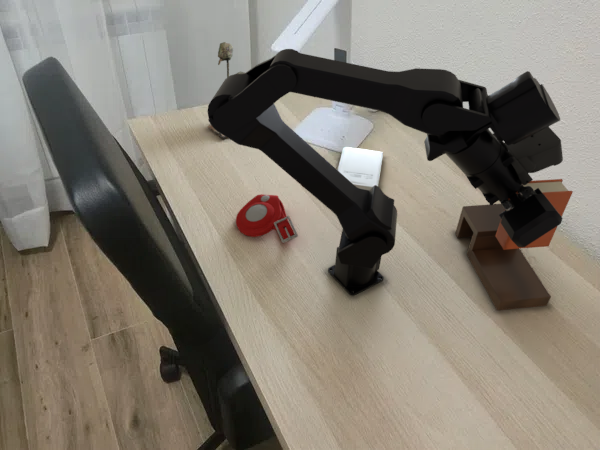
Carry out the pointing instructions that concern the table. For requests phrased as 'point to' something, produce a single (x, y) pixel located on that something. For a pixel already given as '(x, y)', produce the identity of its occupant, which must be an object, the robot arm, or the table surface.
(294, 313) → the table surface
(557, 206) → the book
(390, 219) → the robot arm
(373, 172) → the hard drive
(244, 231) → the tracker holder
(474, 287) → the table surface
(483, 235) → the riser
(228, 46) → the plant with pod
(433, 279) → the table surface
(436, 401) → the table surface
